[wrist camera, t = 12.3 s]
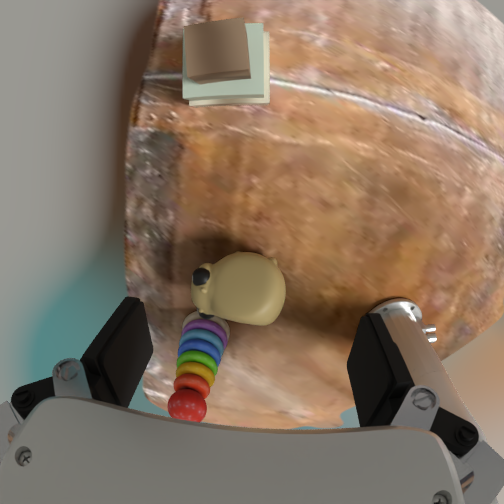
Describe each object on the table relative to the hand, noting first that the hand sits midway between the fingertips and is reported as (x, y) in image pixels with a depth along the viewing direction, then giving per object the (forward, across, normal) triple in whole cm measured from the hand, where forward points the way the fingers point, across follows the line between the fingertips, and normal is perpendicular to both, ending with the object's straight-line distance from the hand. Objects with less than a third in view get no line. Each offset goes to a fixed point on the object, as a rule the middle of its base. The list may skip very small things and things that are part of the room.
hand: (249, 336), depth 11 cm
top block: (+23, +5, -16) cm, 28 cm away
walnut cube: (+19, +4, -16) cm, 25 cm away
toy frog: (+28, +3, +11) cm, 30 cm away
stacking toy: (+28, +9, +23) cm, 37 cm away
